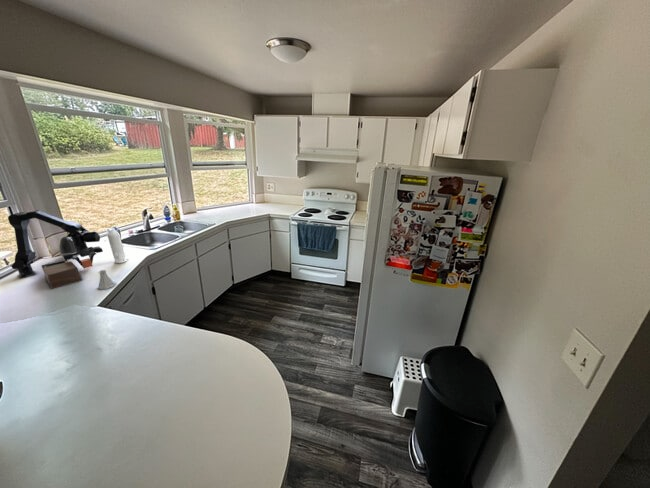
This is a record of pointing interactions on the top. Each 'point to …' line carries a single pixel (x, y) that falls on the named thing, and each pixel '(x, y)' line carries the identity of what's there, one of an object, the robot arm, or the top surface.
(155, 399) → the top surface
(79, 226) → the robot arm
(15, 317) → the top surface
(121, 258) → the white statue
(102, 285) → the flask
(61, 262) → the drawer
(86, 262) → the block
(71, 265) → the cabinet
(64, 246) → the black rounded dome
